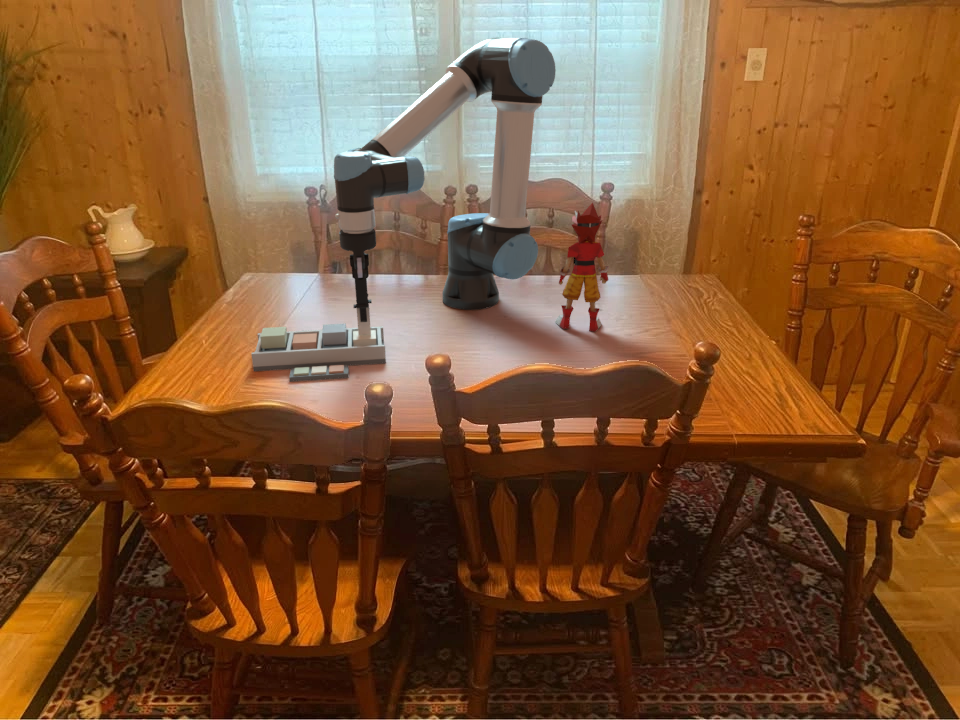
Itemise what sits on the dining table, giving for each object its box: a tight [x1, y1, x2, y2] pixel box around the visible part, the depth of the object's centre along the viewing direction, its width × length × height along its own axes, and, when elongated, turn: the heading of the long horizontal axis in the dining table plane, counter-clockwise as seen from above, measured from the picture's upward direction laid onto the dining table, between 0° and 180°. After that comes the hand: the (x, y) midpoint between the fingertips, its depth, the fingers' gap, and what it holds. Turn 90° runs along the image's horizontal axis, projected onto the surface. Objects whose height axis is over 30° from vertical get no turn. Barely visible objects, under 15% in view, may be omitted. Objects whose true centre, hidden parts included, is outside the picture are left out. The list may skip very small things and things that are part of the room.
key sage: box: [260, 326, 288, 349], centre depth 160 cm, size 5×5×3 cm
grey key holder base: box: [250, 325, 387, 372], centre depth 163 cm, size 28×12×4 cm, turn 99°
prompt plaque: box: [288, 365, 350, 383], centre depth 155 cm, size 12×4×1 cm, turn 99°
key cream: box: [353, 330, 376, 346], centre depth 164 cm, size 5×5×3 cm
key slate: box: [321, 322, 347, 345], centre depth 162 cm, size 5×5×3 cm
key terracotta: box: [292, 333, 318, 350], centre depth 162 cm, size 5×5×3 cm
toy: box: [554, 202, 610, 333], centre depth 174 cm, size 12×9×30 cm
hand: (364, 333), depth 163 cm, fingers closed
